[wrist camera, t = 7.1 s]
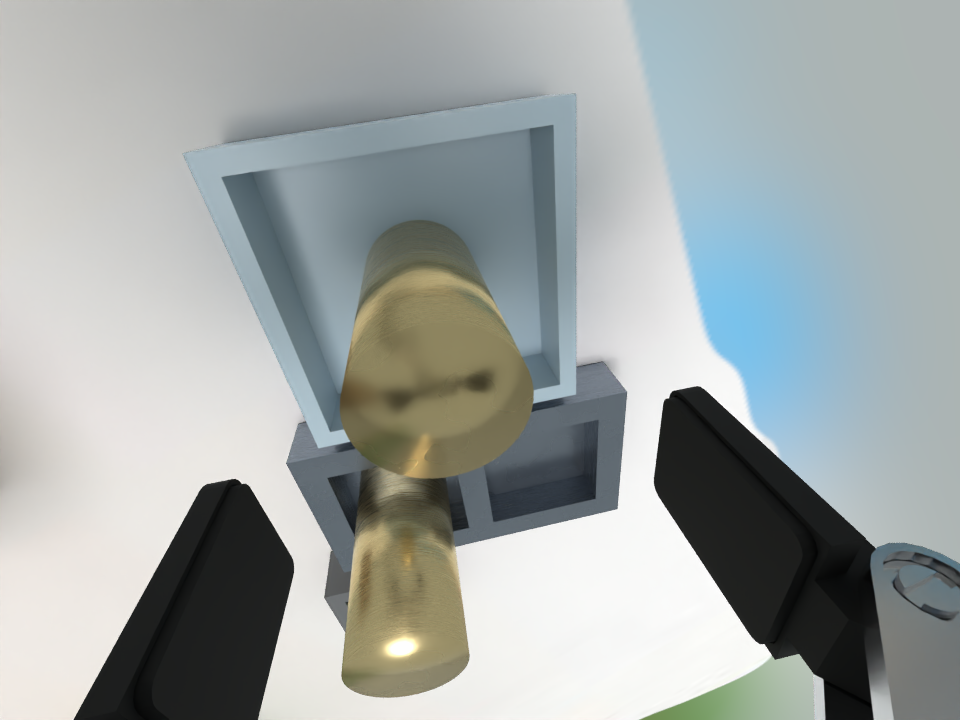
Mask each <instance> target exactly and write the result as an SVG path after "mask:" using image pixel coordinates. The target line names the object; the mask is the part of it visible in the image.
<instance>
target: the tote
mask: <svg viewBox="0 0 960 720" xmlns="http://www.w3.org/2000/svg"><path fill="white" fill-rule="evenodd" d="M183 155H184V158H185V160H186V162H187V164H188V166H189V168H190V171H191V173H192V175H193V177H194V179H195V181H196V184H197V186H198V188H199V190H200V192H201V194H202V197H203V199H204V201H205V203H206V205H207V208H208V210H209V212H210V214H211V216H212V218H213V221H214V223H215V225H216V227H217V229H218V231H219V234H220V236H221V238H222V240H223V242H224V244H225V247H226V249H227V251H228V253H229V255H230V257H231V260H232V262H233V264H234V266H235V268H236V270H237V273H238V275H239V277H240V279H241V281H242V283H243V286H244V288H245V290H246V292H247V294H248V297H249V299H250V301H251V303H252V305H253V307H254V310H255V312H256V314H257V316H258V318H259V320H260V323H261V325H262V327H263V329H264V331H265V333H266V336H267V338H268V340H269V342H270V344H271V346H272V349H273V351H274V353H275V355H276V357H277V359H278V362H279V364H280V366H281V368H282V370H283V372H284V375H285V377H286V379H287V381H288V383H289V385H290V388H291V390H292V392H293V394H294V396H295V399H296V401H297V403H298V405H299V407H300V409H301V412H302V414H303V416H304V418H305V420H306V422H307V425H308V427H309V429H310V431H311V433H312V435H313V438H314V440H315V442H316V444H317V446H318V448H323V447H327V446H332V445H337V444H342V443H346V442H350V440H349V439H348V437H347V435H346V433H345V431H344V428H343V425H342V422H341V417H340V396H341V391H342V386H343V380H344V375H345V370H346V364H347V359H348V354H349V349H350V343H351V338H352V333H353V327H354V322H355V317H356V312H357V306H358V301H359V296H360V290H361V285H362V280H363V274H364V269H365V264H366V259H367V256H368V253H369V251H370V249H371V247H372V245H373V244H374V242H375V241H376V240H377V238H378V237H379V236H380V235H381V234H382V233H384V232H385V231H386V230H388V229H389V228H391V227H393V226H394V225H397V224H399V223H402V222H406V221H411V220H427V221H433V222H436V223H439V224H442V225H444V226H446V227H448V228H449V229H451V230H452V231H454V232H455V233H456V234H457V235H458V236H459V237H460V238H461V239H462V240H463V241H464V242H465V244H466V245H467V247H468V249H469V251H470V253H471V255H472V257H473V259H474V261H475V263H476V265H477V267H478V269H479V271H480V273H481V275H482V277H483V279H484V281H485V283H486V285H487V287H488V289H489V291H490V293H491V295H492V297H493V299H494V301H495V303H496V305H497V307H498V309H499V311H500V313H501V315H502V317H503V319H504V321H505V323H506V325H507V327H508V329H509V331H510V333H511V335H512V337H513V339H514V342H515V344H516V346H517V348H518V350H519V352H520V354H521V356H522V358H523V360H524V362H525V364H526V366H527V368H528V370H529V372H530V375H531V378H532V382H533V389H534V401H533V403H538V402H542V401H547V400H552V399H557V398H562V397H566V396H571V395H576V94H557V95H542V96H535V97H529V98H522V99H515V100H509V101H502V102H495V103H489V104H482V105H476V106H469V107H462V108H456V109H449V110H443V111H436V112H429V113H423V114H416V115H410V116H403V117H396V118H390V119H383V120H376V121H370V122H363V123H357V124H350V125H343V126H337V127H330V128H324V129H317V130H310V131H304V132H297V133H290V134H284V135H277V136H271V137H264V138H257V139H251V140H244V141H238V142H231V143H224V144H219V145H215V146H211V147H207V148H203V149H198V150H194V151H190V152H186V153H183Z"/></svg>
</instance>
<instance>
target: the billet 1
mask: <svg viewBox="0 0 960 720" xmlns="http://www.w3.org/2000/svg"><path fill="white" fill-rule="evenodd" d="M533 401H534V389H533V382H532V378H531V375H530V372H529V370H528V368H527V366H526V364H525V362H524V360H523V358H522V356H521V354H520V352H519V350H518V348H517V346H516V344H515V342H514V339H513V337H512V335H511V333H510V331H509V329H508V327H507V325H506V323H505V321H504V319H503V317H502V315H501V313H500V311H499V309H498V307H497V305H496V303H495V301H494V299H493V297H492V295H491V293H490V291H489V289H488V287H487V285H486V283H485V281H484V279H483V277H482V275H481V273H480V271H479V269H478V267H477V265H476V263H475V261H474V259H473V257H472V255H471V253H470V251H469V249H468V247H467V245H466V244H465V242H464V241H463V240H462V239H461V238H460V237H459V236H458V235H457V234H456V233H455V232H454V231H452V230H451V229H449V228H448V227H446V226H444V225H442V224H439V223H436V222H433V221H427V220H411V221H406V222H402V223H399V224H397V225H394V226H393V227H391V228H389V229H388V230H386V231H385V232H384V233H382V234H381V235H380V236H379V237H378V238H377V240H376V241H375V242H374V244H373V245H372V247H371V249H370V251H369V253H368V256H367V259H366V264H365V269H364V274H363V280H362V285H361V290H360V296H359V301H358V306H357V312H356V317H355V322H354V327H353V333H352V338H351V343H350V349H349V354H348V359H347V364H346V370H345V375H344V380H343V386H342V391H341V396H340V417H341V422H342V425H343V428H344V431H345V433H346V435H347V437H348V439H349V440H350V442H351V443H352V444H353V446H354V447H355V448H356V449H357V450H358V451H359V452H360V453H361V455H363V456H364V457H365V458H366V459H368V460H369V461H370V462H372V463H374V464H375V465H377V466H379V467H381V468H383V469H385V470H387V471H390V472H393V473H396V474H399V475H403V476H408V477H415V478H445V477H450V476H456V475H460V474H463V473H467V472H470V471H472V470H475V469H477V468H480V467H482V466H484V465H486V464H488V463H489V462H491V461H493V460H494V459H496V458H497V457H499V456H500V455H501V454H503V453H504V452H505V451H506V450H507V449H508V448H509V447H510V446H511V445H512V444H513V443H514V442H515V441H516V440H517V439H518V437H519V436H520V434H521V433H522V431H523V430H524V428H525V426H526V424H527V422H528V420H529V418H530V414H531V411H532V407H533Z"/></svg>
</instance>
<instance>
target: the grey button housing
mask: <svg viewBox="0 0 960 720" xmlns="http://www.w3.org/2000/svg"><path fill="white" fill-rule="evenodd" d="M350 581H351V571H349V572H345V573H344V571H343V569H342V567H341V565H340V564H339V562H338V560H337V558H336V556H335V554H334V552H333V551H332V552H331V555H330V562H329V569H328V576H327V583H326V589H325V596H324V598H325V600H326V601H327V603H328V605H329V606H330V608H331V610H332V611H333V613H334V614H335V616H336V618H337V619H338V621H339V623H340V624H341V626H342V627H343V629H344V631H345V632H346V622H347V612H348V602H349V591H350Z"/></svg>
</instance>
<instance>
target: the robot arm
mask: <svg viewBox="0 0 960 720" xmlns="http://www.w3.org/2000/svg"><path fill="white" fill-rule="evenodd" d="M654 486H655V490H656V492H657V494H658V496H659V498H660V499H661V501H662V502H663V504H664V505H665V507H666V508H667V510H668V511H669V513H670V514H671V516H672V517H673V519H674V520H675V522H676V523H677V525H678V527H679V528H680V530H681V531H682V533H683V534H684V536H685V537H686V539H687V540H688V542H689V543H690V545H691V546H692V548H693V549H694V551H695V552H696V554H697V555H698V557H699V558H700V560H701V561H702V563H703V564H704V566H705V567H706V569H707V570H708V572H709V573H710V575H711V576H712V578H713V580H714V581H715V583H716V584H717V586H718V587H719V589H720V590H721V592H722V593H723V595H724V596H725V598H726V599H727V601H728V602H729V604H730V605H731V607H732V608H733V610H734V611H735V613H736V614H737V616H738V617H739V619H740V620H741V622H742V623H743V625H744V626H745V628H746V630H747V631H748V633H749V634H750V635H751V637H752V638H753V639H754V640H755V641H756V642H758V643H759V644H765V646H766V647H767V648H768V650H769V651H770V653H771V654H772V656H773V657H774V659H775V660H776V659H780V658H784V657H788V656H791V655H796V654H800V656H801V657H802V658H803V660H804V661H805V662H806V664H807V665H808V666H809V668H810V669H811V670H812V672H813V676H814V677H813V678H814V707H815V720H960V564H959V563H958V562H956V561H954V560H952V559H950V558H948V557H947V556H945V555H943V554H941V553H938V552H935V551H932V550H930V549H927V548H925V547H922V546H916V545H912V544H907V543H888V544H885V545H882V546H879V547H877V549H876V548H875V547H874V546H872V545H871V544H870V543H869V542H868V541H867V540H866V538H865V537H864V536H863V535H862V534H860V533H859V532H858V531H857V530H856V529H855V528H854V527H853V526H852V525H851V524H850V523H848V522H847V521H846V520H845V519H844V518H843V517H842V516H841V515H840V514H839V513H838V512H837V511H836V510H834V509H833V508H832V507H831V506H830V505H829V504H828V503H827V502H826V501H825V500H824V499H822V498H821V497H820V496H819V495H818V494H817V493H816V492H815V491H814V490H813V489H812V488H810V487H809V486H808V485H807V484H806V483H805V482H804V481H803V480H802V479H801V478H800V477H799V476H798V475H796V474H795V473H794V472H793V471H792V470H791V469H790V468H789V467H788V466H787V465H786V464H785V463H784V462H782V461H781V460H780V459H779V458H778V457H777V456H776V455H775V454H774V453H773V452H772V451H771V450H769V449H768V448H767V447H766V446H765V445H764V444H763V443H762V442H761V441H760V440H759V439H757V438H756V437H755V436H754V435H753V434H752V433H751V432H750V431H749V430H748V429H747V428H746V427H744V426H743V425H742V424H741V423H740V422H739V421H738V420H737V419H736V418H735V417H734V416H733V415H731V414H730V413H729V412H728V411H727V410H726V409H725V408H724V407H723V406H722V405H721V404H720V403H718V402H717V401H716V400H715V399H714V398H713V397H712V396H711V395H710V394H709V393H708V392H707V391H705V390H704V389H703V388H701V387H699V386H696V387H691V388H686V389H681V390H676V391H673V392H672V393H671V394H670V397H669V398H668V399H665V401H664V404H663V411H662V419H661V427H660V435H659V443H658V451H657V459H656V467H655V475H654ZM293 574H294V563H293V559H292V557H291V555H290V553H289V552H288V550H287V548H286V547H285V545H284V543H283V542H282V540H281V538H280V537H279V535H278V533H277V532H276V530H275V528H274V527H273V525H272V523H271V522H270V520H269V518H268V517H267V515H266V513H265V512H264V510H263V508H262V507H261V505H260V503H259V502H258V500H257V498H256V497H255V495H254V493H253V492H252V490H251V488H250V487H249V486H248V485H247V484H241V483H240V481H238V480H236V479H231V480H226V481H221V482H216V483H211V484H206V485H205V486H203V487H202V489H201V490H200V491H199V493H198V495H197V497H196V499H195V501H194V502H193V504H192V506H191V508H190V510H189V511H188V513H187V515H186V517H185V519H184V520H183V522H182V524H181V526H180V528H179V530H178V531H177V533H176V535H175V537H174V539H173V540H172V542H171V544H170V546H169V548H168V549H167V551H166V553H165V555H164V557H163V559H162V560H161V562H160V564H159V566H158V568H157V569H156V571H155V573H154V575H153V577H152V578H151V580H150V582H149V584H148V586H147V588H146V589H145V591H144V593H143V595H142V597H141V598H140V600H139V602H138V604H137V606H136V607H135V609H134V611H133V613H132V615H131V617H130V618H129V620H128V622H127V624H126V626H125V627H124V629H123V631H122V633H121V635H120V636H119V638H118V640H117V642H116V644H115V646H114V647H113V649H112V651H111V653H110V655H109V656H108V658H107V660H106V662H105V664H104V665H103V667H102V669H101V671H100V673H99V675H98V676H97V678H96V680H95V682H94V684H93V685H92V687H91V689H90V691H89V693H88V694H87V696H86V698H85V700H84V702H83V704H82V705H81V707H80V709H79V711H78V713H77V714H76V716H75V718H74V720H258V716H259V712H260V708H261V704H262V700H263V696H264V692H265V688H266V684H267V680H268V676H269V672H270V668H271V664H272V660H273V656H274V652H275V648H276V644H277V640H278V636H279V631H280V627H281V623H282V619H283V615H284V611H285V607H286V603H287V599H288V595H289V591H290V587H291V583H292V579H293Z"/></svg>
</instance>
